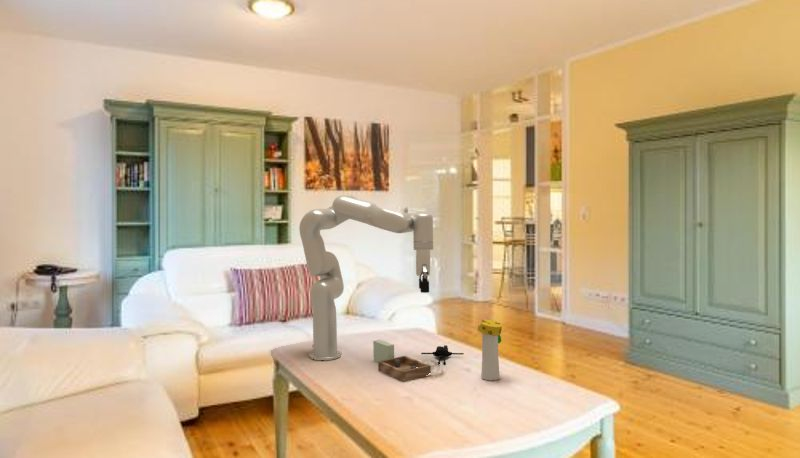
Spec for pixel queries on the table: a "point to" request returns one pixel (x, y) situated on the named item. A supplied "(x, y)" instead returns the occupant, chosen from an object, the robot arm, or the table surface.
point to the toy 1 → (442, 353)
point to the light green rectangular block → (383, 350)
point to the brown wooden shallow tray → (404, 368)
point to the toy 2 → (490, 348)
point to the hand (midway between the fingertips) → (424, 290)
